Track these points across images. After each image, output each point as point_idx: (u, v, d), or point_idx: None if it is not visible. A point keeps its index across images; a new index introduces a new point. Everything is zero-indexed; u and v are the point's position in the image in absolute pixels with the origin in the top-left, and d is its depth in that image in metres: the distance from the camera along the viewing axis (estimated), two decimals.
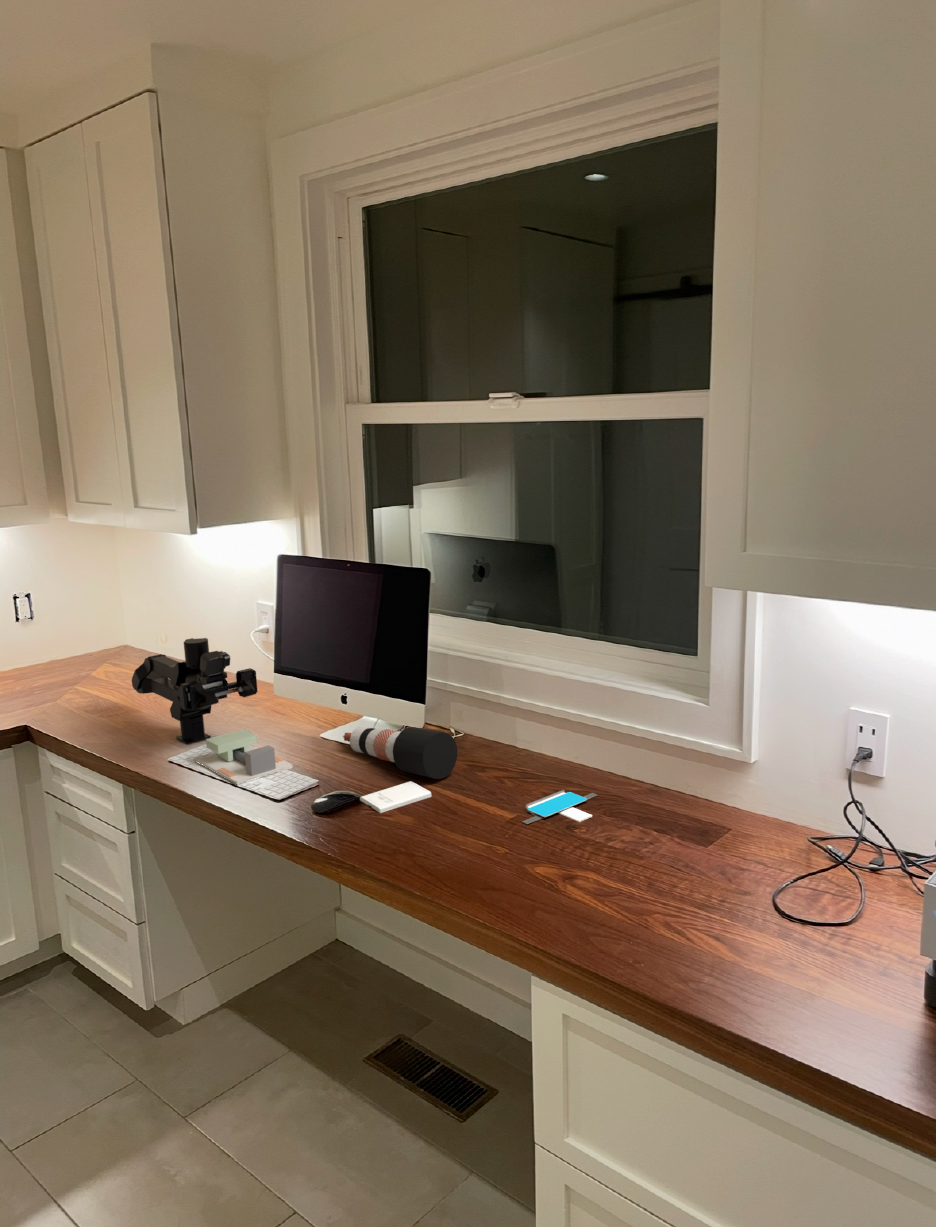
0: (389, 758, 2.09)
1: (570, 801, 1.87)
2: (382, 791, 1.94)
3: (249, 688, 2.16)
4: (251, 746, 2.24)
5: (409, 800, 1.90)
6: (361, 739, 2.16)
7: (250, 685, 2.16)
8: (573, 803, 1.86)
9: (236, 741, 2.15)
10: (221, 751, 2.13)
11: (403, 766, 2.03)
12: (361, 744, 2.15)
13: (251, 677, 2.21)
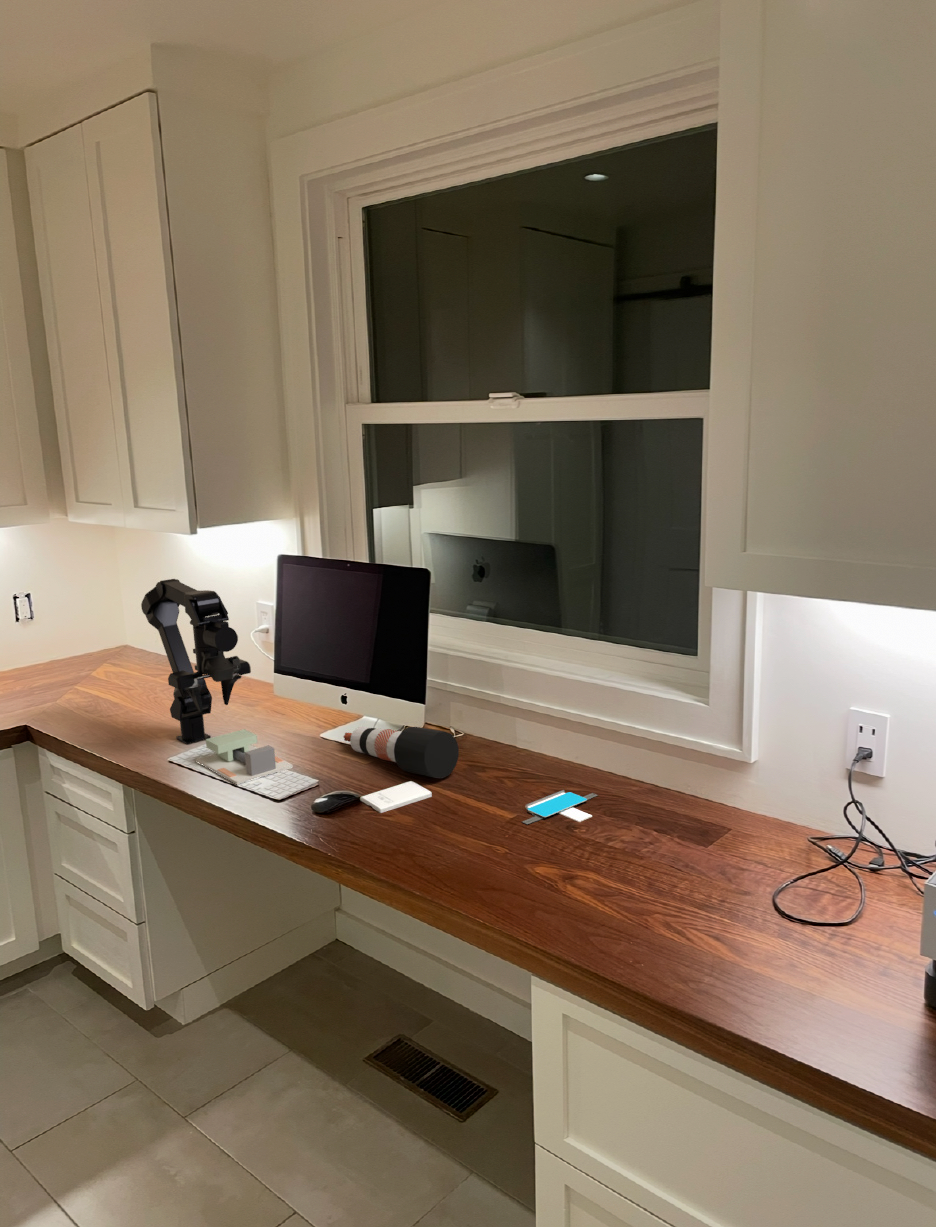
0: (390, 758, 2.09)
1: (570, 801, 1.87)
2: (382, 791, 1.94)
3: (225, 697, 2.23)
4: (251, 746, 2.24)
5: (409, 800, 1.90)
6: (362, 739, 2.16)
7: (228, 695, 2.23)
8: (573, 803, 1.86)
9: (236, 741, 2.15)
10: (221, 751, 2.13)
11: (404, 766, 2.03)
12: (362, 744, 2.15)
13: None
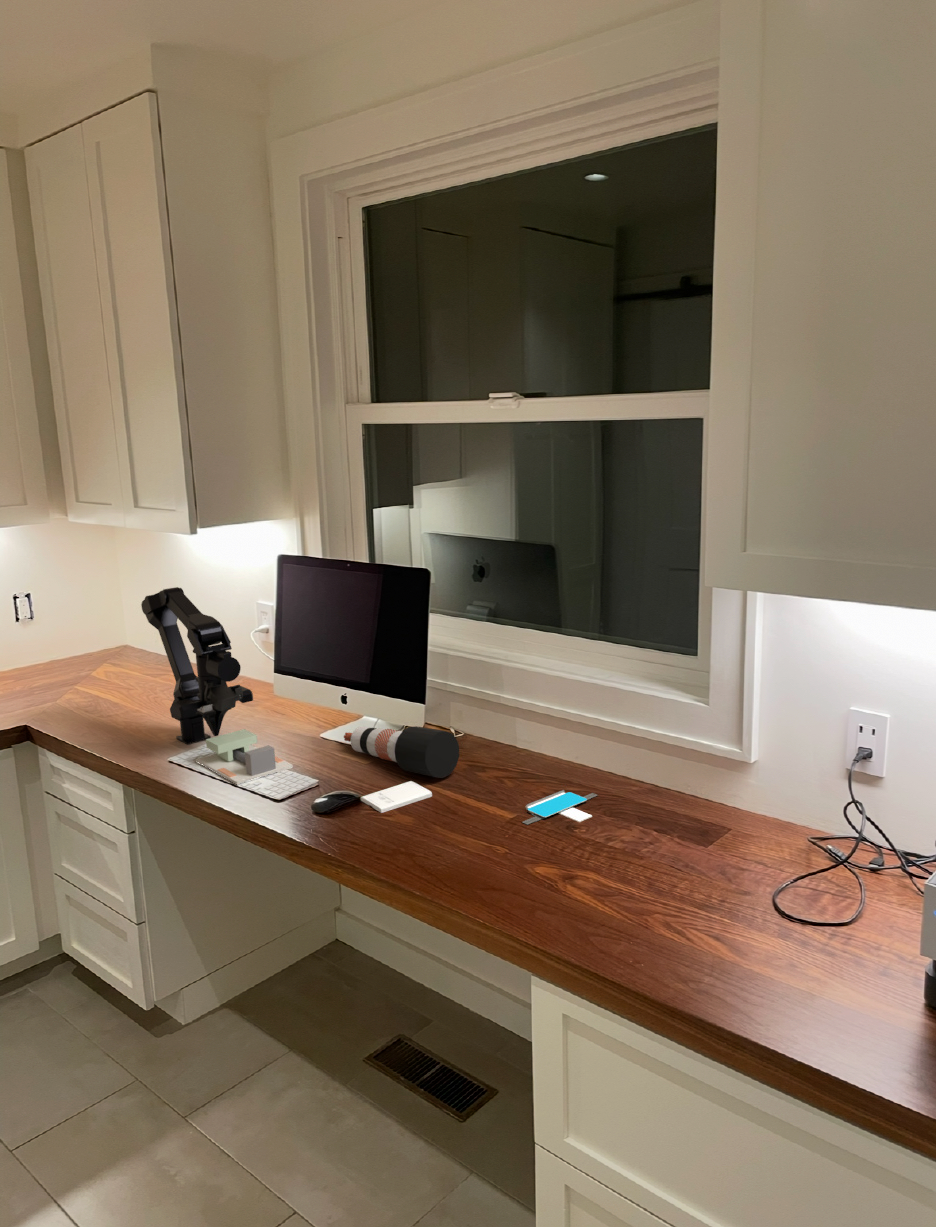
0: (391, 757, 2.09)
1: (570, 801, 1.87)
2: (383, 791, 1.94)
3: (216, 728, 2.23)
4: (251, 746, 2.24)
5: (410, 800, 1.90)
6: (362, 739, 2.16)
7: (219, 726, 2.23)
8: (573, 803, 1.86)
9: (236, 741, 2.15)
10: (221, 751, 2.13)
11: (405, 765, 2.03)
12: (362, 744, 2.16)
13: None
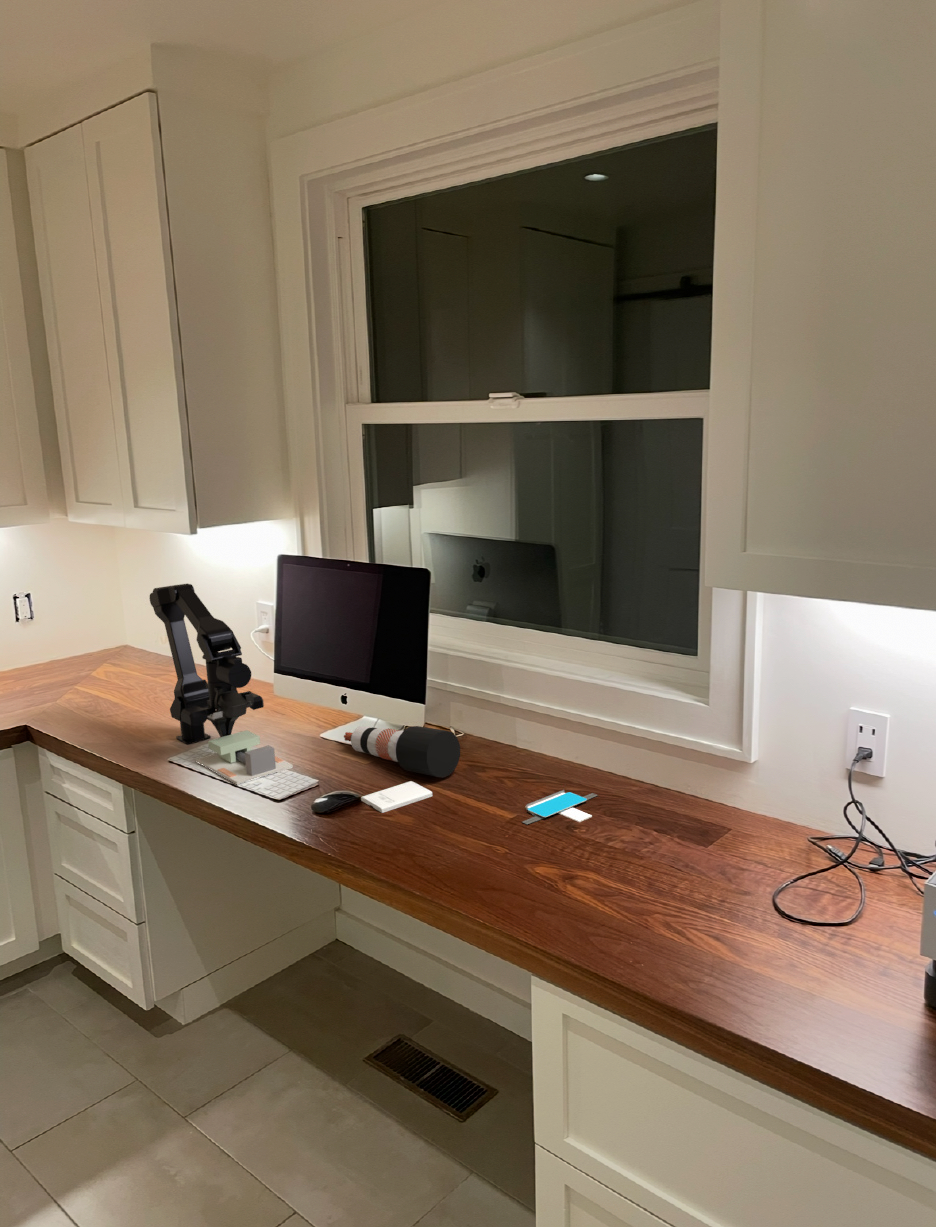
0: (391, 757, 2.09)
1: (570, 801, 1.87)
2: (383, 791, 1.94)
3: None
4: None
5: (410, 800, 1.90)
6: (362, 738, 2.16)
7: (229, 733, 2.19)
8: (573, 803, 1.86)
9: (239, 742, 2.14)
10: (224, 752, 2.12)
11: (406, 765, 2.03)
12: (363, 743, 2.16)
13: None
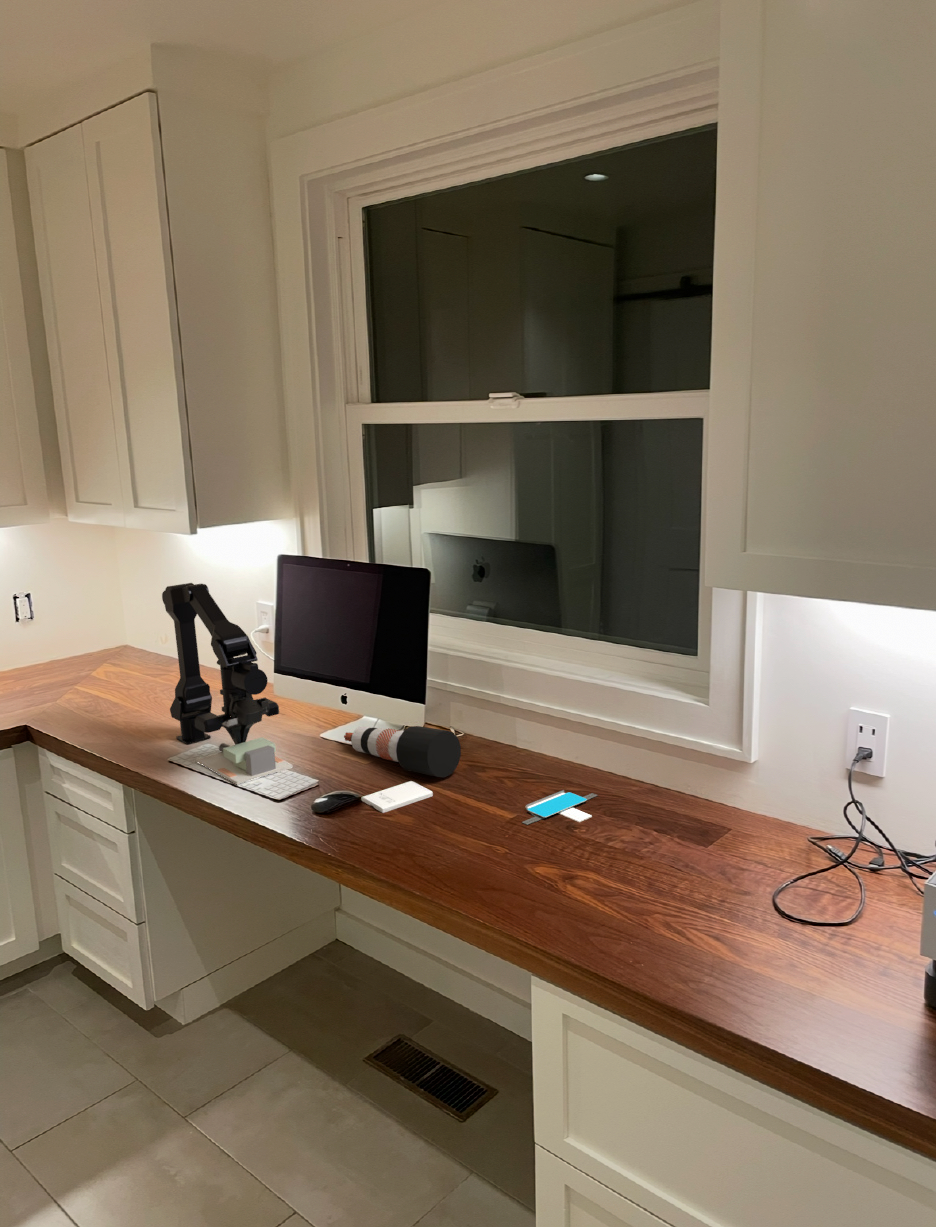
0: (392, 757, 2.09)
1: (570, 801, 1.87)
2: (383, 791, 1.94)
3: (241, 742, 2.14)
4: None
5: (411, 800, 1.90)
6: (363, 739, 2.16)
7: (244, 741, 2.14)
8: (573, 803, 1.86)
9: None
10: (239, 760, 2.06)
11: (407, 765, 2.03)
12: (363, 743, 2.16)
13: None
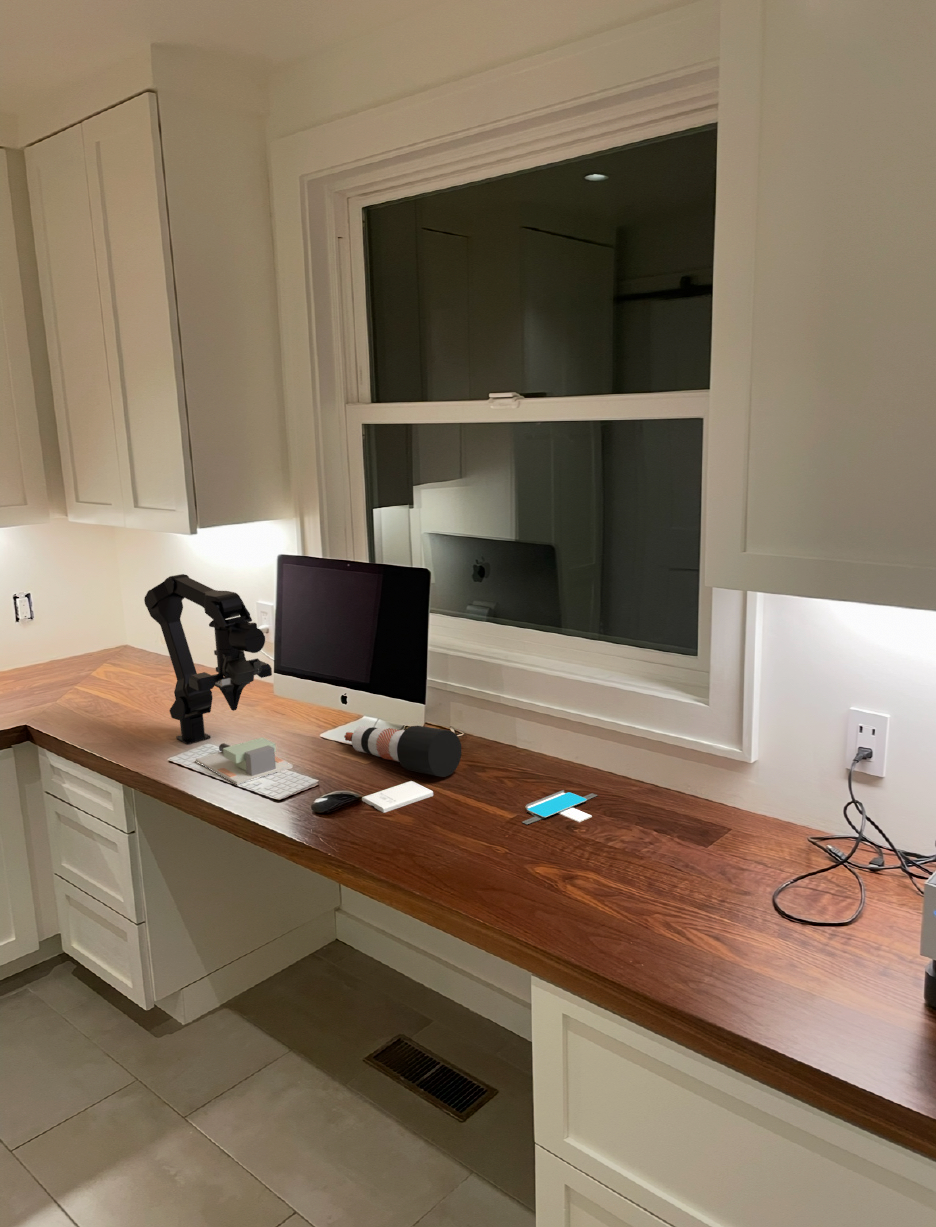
0: (393, 757, 2.09)
1: (570, 801, 1.87)
2: (384, 791, 1.94)
3: (234, 702, 2.20)
4: None
5: (411, 799, 1.90)
6: (363, 738, 2.16)
7: (237, 701, 2.19)
8: (573, 803, 1.86)
9: None
10: (239, 760, 2.06)
11: (407, 765, 2.04)
12: (363, 743, 2.16)
13: None
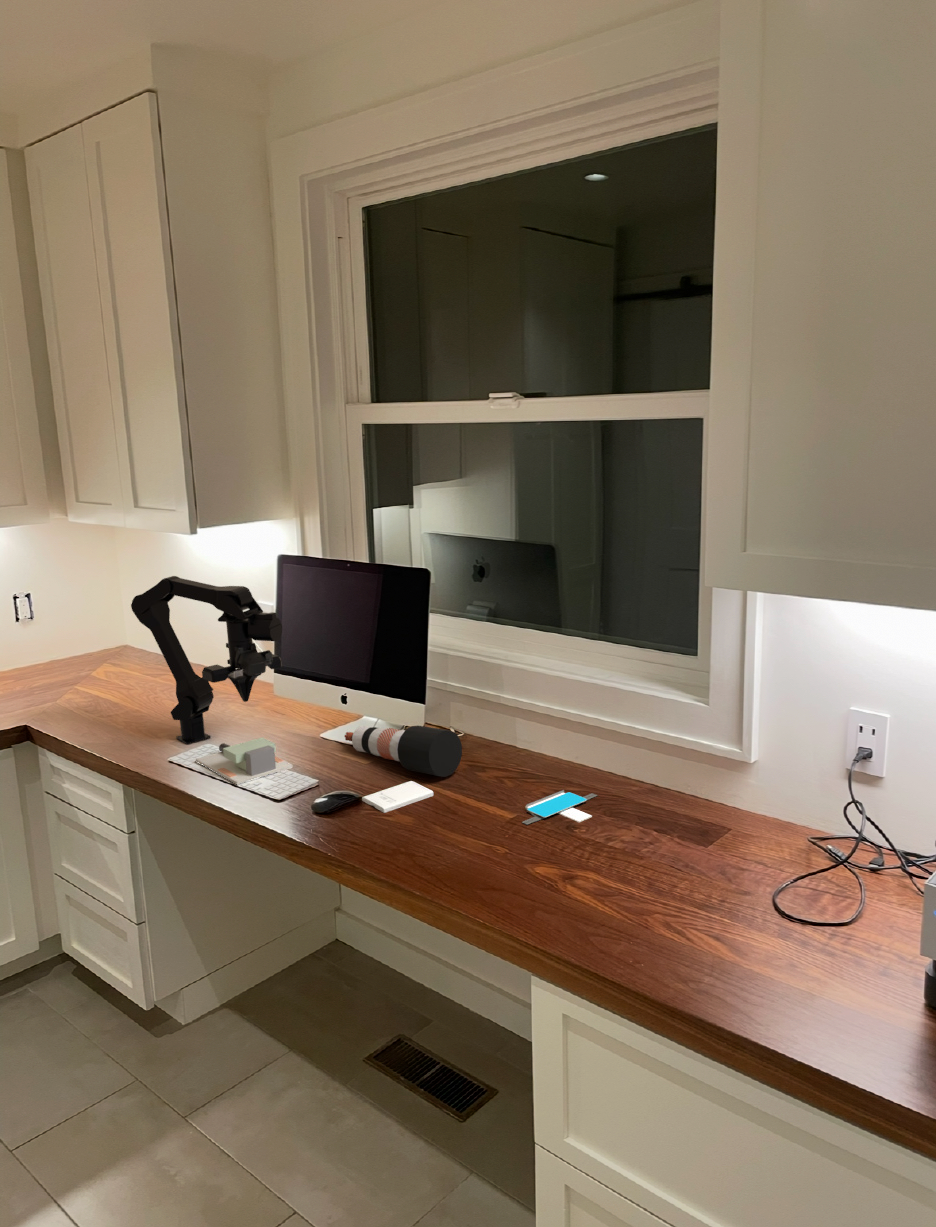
0: (393, 757, 2.09)
1: (570, 801, 1.87)
2: (384, 791, 1.94)
3: (246, 693, 2.26)
4: None
5: (412, 799, 1.90)
6: (364, 738, 2.16)
7: (248, 692, 2.25)
8: (573, 803, 1.86)
9: None
10: (239, 760, 2.06)
11: (408, 765, 2.04)
12: (364, 743, 2.16)
13: None
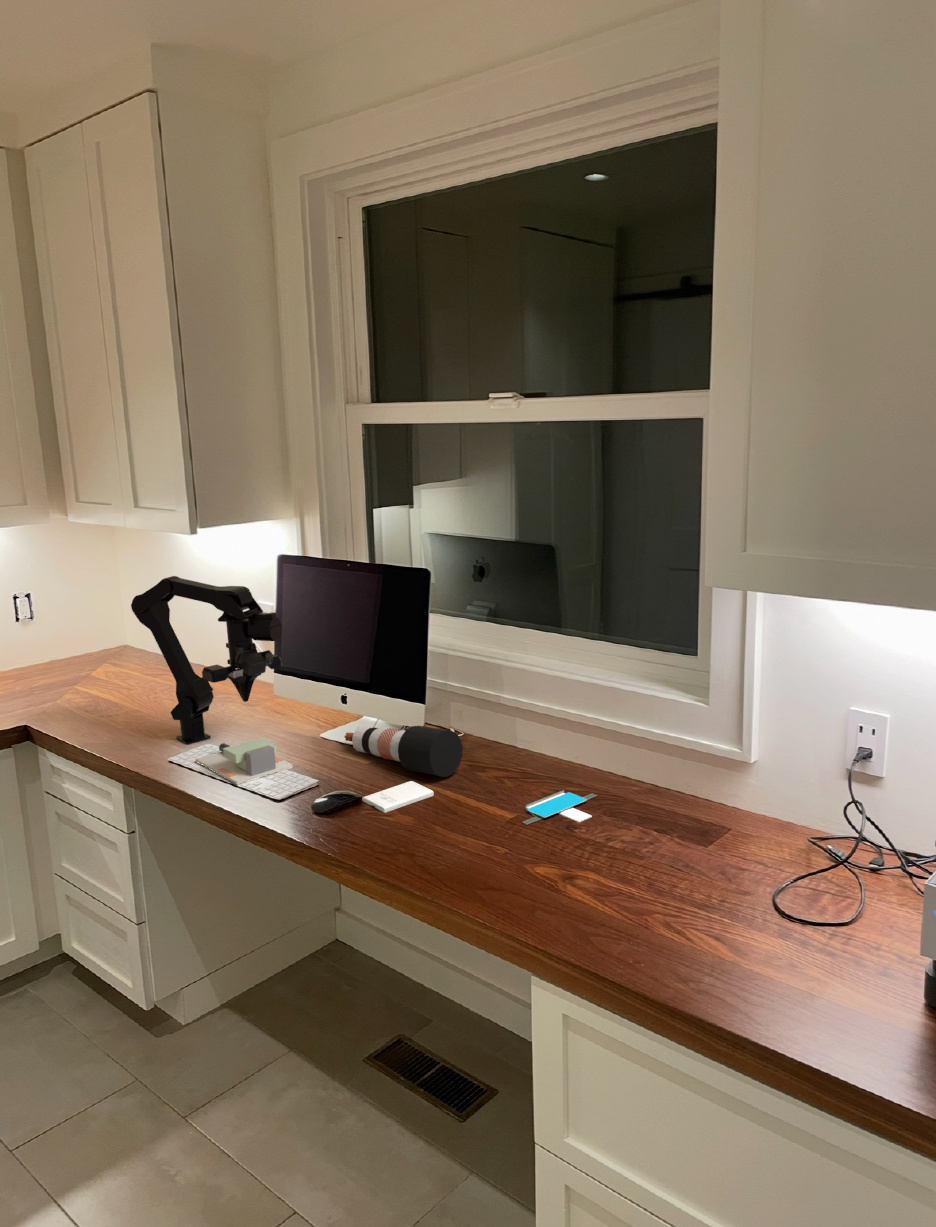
0: (393, 757, 2.09)
1: (570, 801, 1.87)
2: (384, 791, 1.94)
3: (246, 693, 2.26)
4: None
5: (412, 799, 1.90)
6: (364, 739, 2.16)
7: (248, 692, 2.25)
8: (573, 803, 1.86)
9: None
10: (239, 760, 2.06)
11: (408, 765, 2.04)
12: (364, 743, 2.16)
13: None
